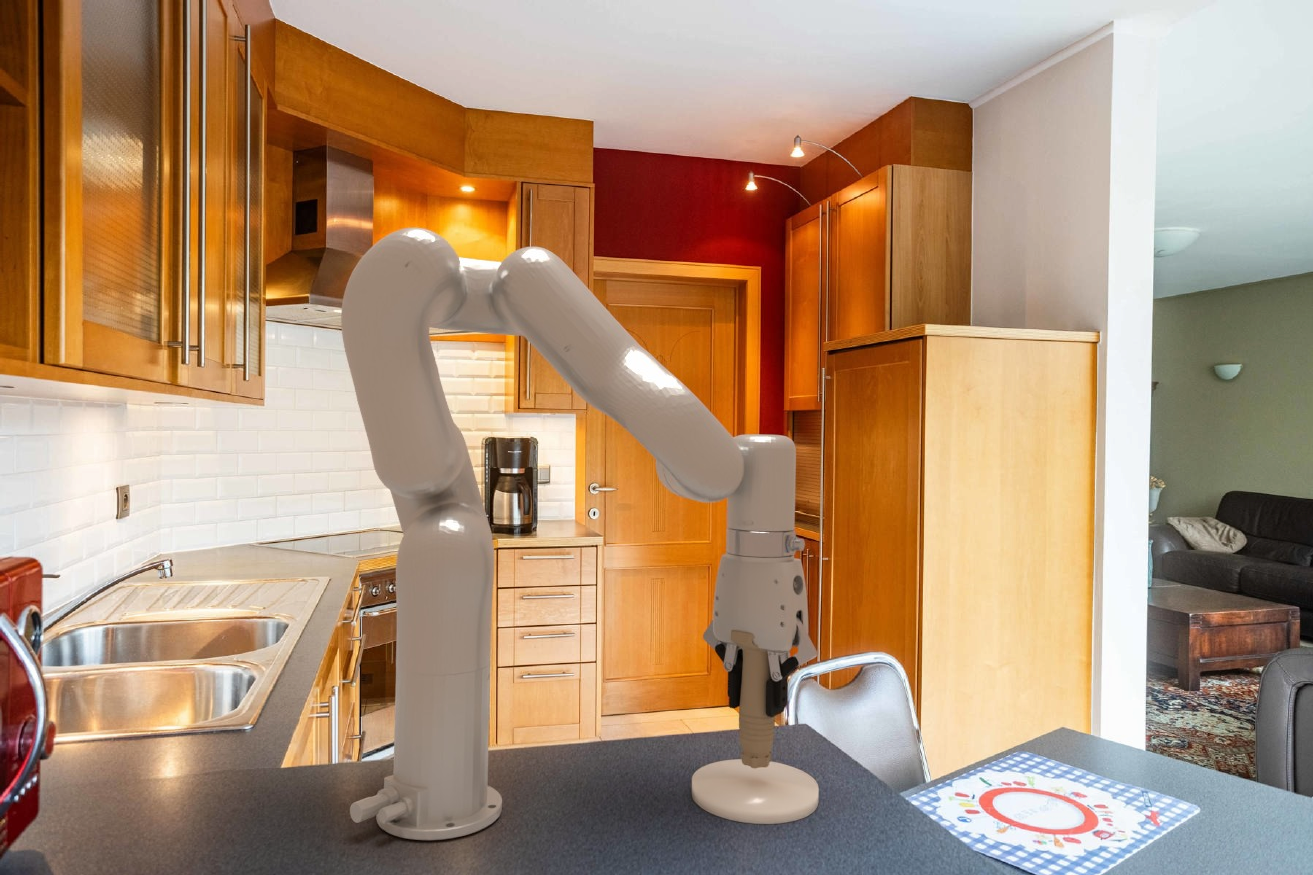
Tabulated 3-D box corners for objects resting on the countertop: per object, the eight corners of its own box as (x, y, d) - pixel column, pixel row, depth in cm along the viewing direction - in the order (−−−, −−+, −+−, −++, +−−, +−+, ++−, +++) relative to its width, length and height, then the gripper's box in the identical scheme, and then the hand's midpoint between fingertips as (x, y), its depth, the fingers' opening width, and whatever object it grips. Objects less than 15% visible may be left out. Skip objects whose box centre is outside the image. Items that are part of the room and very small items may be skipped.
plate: (780, 836, 85) (781, 821, 85) (666, 799, 94) (667, 785, 94) (839, 792, 97) (839, 779, 97) (732, 762, 105) (733, 750, 105)
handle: (782, 775, 92) (785, 636, 92) (723, 768, 94) (726, 631, 94) (787, 759, 97) (790, 627, 97) (731, 753, 98) (733, 622, 98)
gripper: (844, 548, 93) (840, 716, 93) (714, 536, 103) (711, 688, 103) (813, 555, 87) (810, 734, 87) (679, 541, 97) (675, 702, 97)
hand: (756, 707), depth 95 cm, fingers closed on handle, 4 cm apart
